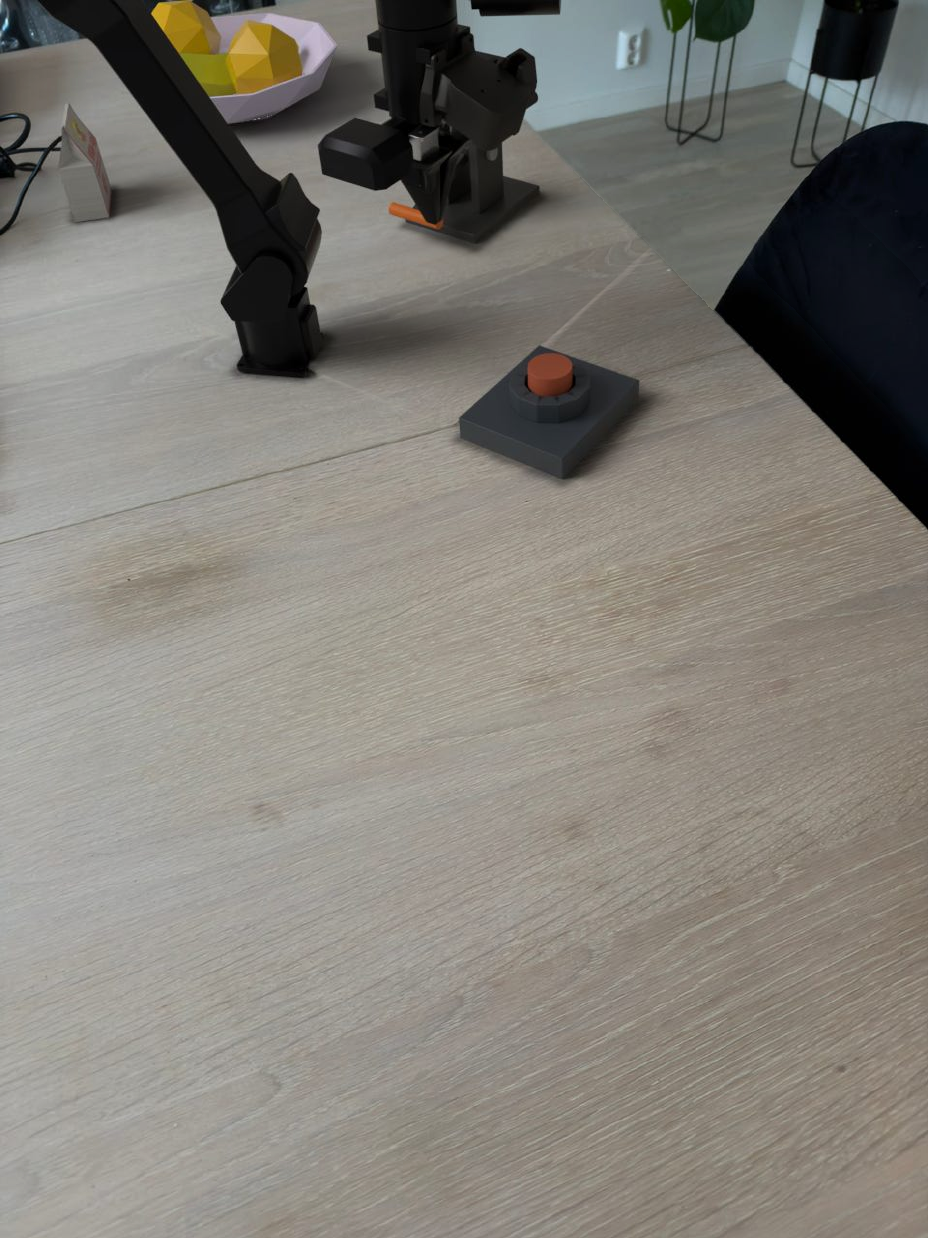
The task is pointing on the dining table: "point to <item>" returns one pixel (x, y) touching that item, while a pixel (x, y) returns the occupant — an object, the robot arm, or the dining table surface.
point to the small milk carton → (83, 170)
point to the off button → (550, 374)
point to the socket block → (549, 416)
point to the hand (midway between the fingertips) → (434, 221)
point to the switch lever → (414, 212)
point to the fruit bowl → (248, 57)
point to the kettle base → (482, 197)
